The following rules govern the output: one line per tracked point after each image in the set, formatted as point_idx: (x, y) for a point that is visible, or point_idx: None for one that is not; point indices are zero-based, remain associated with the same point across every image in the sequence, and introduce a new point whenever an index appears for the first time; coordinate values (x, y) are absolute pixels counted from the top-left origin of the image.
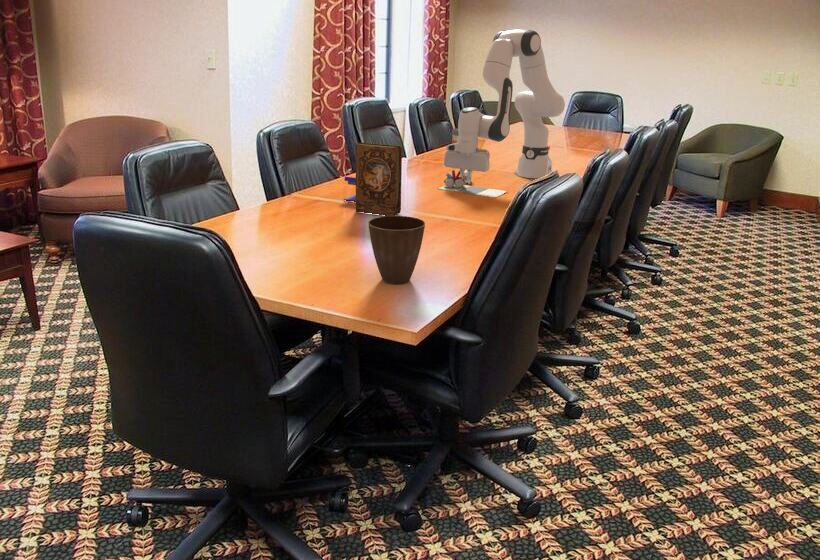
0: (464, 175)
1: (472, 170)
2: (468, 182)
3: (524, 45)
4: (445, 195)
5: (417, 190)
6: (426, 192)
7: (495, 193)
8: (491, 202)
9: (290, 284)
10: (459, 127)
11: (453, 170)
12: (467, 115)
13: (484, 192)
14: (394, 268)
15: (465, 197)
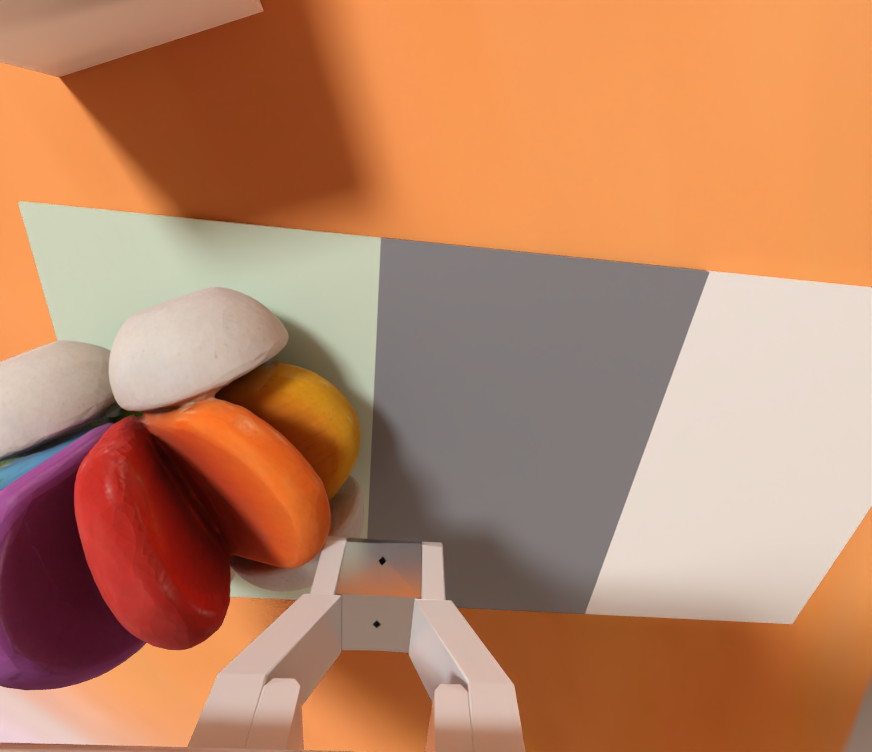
0: (345, 626)
1: (521, 732)
2: (224, 8)
3: None
4: (351, 720)
5: (42, 697)
6: (158, 713)
7: (799, 493)
8: (757, 730)
9: None
10: None
11: (9, 684)
12: None
13: (665, 511)
14: None
15: (526, 704)
